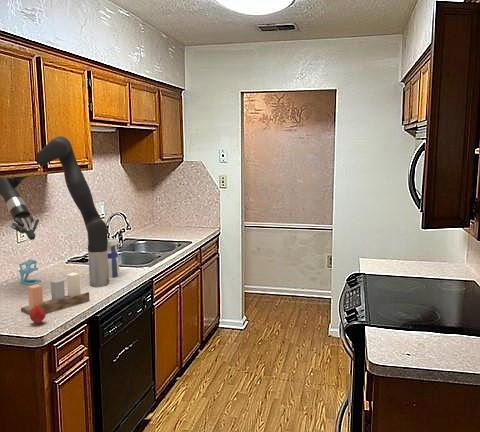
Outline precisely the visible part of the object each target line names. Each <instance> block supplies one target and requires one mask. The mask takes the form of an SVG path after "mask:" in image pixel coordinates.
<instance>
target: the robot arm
mask: <svg viewBox="0 0 480 432" xmlns="http://www.w3.org/2000/svg"><path fill="white" fill-rule="evenodd" d="M37 153H38V163H39V164H40V166H41V168H42V167H44V166H46V165H47V164H49V163H50V162H53V161H55V160H59V162H60V165H61V167H62V169H63V174H64V180H65V184H66V187H67V190H68V192H69V194H70V197H71V198H72V200H73V202H74V203H75V205H76V207H77V209H78V210H79V212H80V215H81V216H82V219H83V222H84V227H85V229H86V231H87V241H88V242H87V243H88V244H87V258H88V275H89V286H90V287H96V288H98V287H99V288H100V287H105V286H108V285H109V284H110V278H109V269H108V253H107V245H108V239H109V238H108V226H107V223H106V221H104V220H103V219H102V217H101V216H100V214H99V212H98V210H97V208H96V206H95V203H94V199H93V194H92V191H91V189H90V186H89V184H88V182H87V180H86V178H85V176H84V174H83V171H82V170H81V169H82V168H80V165H79V164H78V163H79V162H78V161H77V159H76V155H75V152H74V149H73V147H72V142H71V141H70V140H69V139H68V138H66V137H65V136H56V137H54V138H52V139H51V140H50V141H49V142H48V143H47V144H46V145H45V146H44V147H43V148H41V150H39V151H37ZM28 177H29V176H26V177H15V178H0V195H1V197H2V198H3V200H4V202H5V204H6V207H7V209H8V212H9V213H10V215H11V217H12V220H13V222H12V223H11V226H10V228H12V229H13V230H15V231H17V232H19V233H20V234H25V235H26V236H27V238H28V239H29V240H30V241H33V240H35V238H36V237H37V236H36V233H35V231H36V229H37V227H38V225H39V223H40V219H39V218H37V219H34V217H33V216H32V215H31V212H30V210H29V208H28V207H27V205H26V202H25V201H24V199H23V198H22V196H21V194H20V192H19V191H18V190H17V187H18V186H19V185H20V184H22V182H23V180H26V178H28Z"/></svg>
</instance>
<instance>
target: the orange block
mask: <svg viewBox="0 0 480 432" xmlns="http://www.w3.org/2000/svg"><path fill="white" fill-rule="evenodd" d="M27 293H28V294H27V295H28V306H29V309H30V310H32V308H33V307H35V306H36V305H37V304H38V305H39V306H40V305H43V302H44V297H43V286H42V285H40V284H38V283H37V284H34V285H32V286H31V285H27Z"/></svg>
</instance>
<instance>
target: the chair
mask: <svg viewBox="0 0 480 432" xmlns="http://www.w3.org/2000/svg"><path fill="white" fill-rule="evenodd" d="M18 265H19V268H20V270H18V274H20V284H23V285H27V286H32V285H36V284H38V283H40V282H41V281H42V280H41V279H39V278H38V279H28V278H29V276H30V274H31V273H33V272H36V271H38V270H39V268H38V267H37V261H36V260H35V259H28V260H27V261H23V262H21V263H19V264H18ZM23 265H24V266H25V267H24V268H23V267H22V266H23ZM32 265H34V267H31V266H32ZM31 282H32V283H31Z"/></svg>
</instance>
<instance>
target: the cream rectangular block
mask: <svg viewBox="0 0 480 432" xmlns="http://www.w3.org/2000/svg"><path fill="white" fill-rule="evenodd" d="M80 277H81V276H80V273H77V272H71V273H67V274H66V283H67V284H66V286H67V288H66V289H67V295H68V296H70V297H73V296H76V295H80V294H81V278H80Z"/></svg>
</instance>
